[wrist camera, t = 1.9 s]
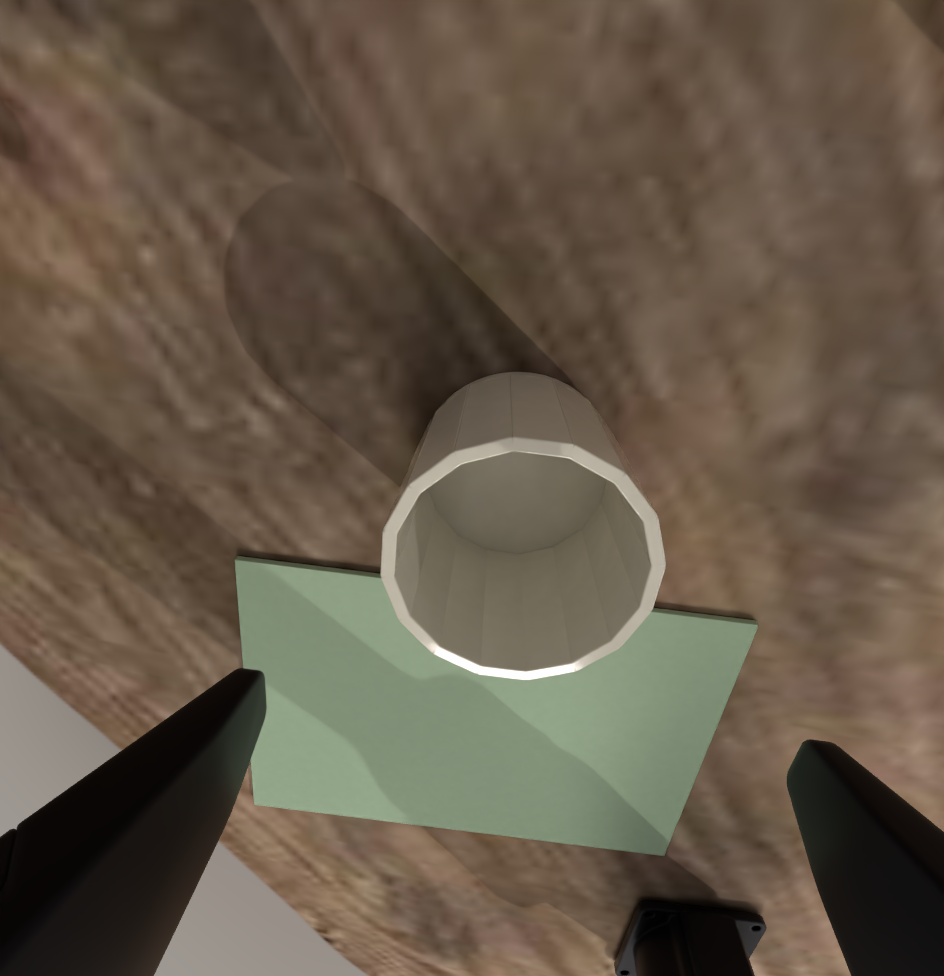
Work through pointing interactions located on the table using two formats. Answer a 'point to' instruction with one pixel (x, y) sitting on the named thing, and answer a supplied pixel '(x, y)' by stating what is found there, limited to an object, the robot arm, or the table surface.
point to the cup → (521, 533)
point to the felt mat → (476, 718)
